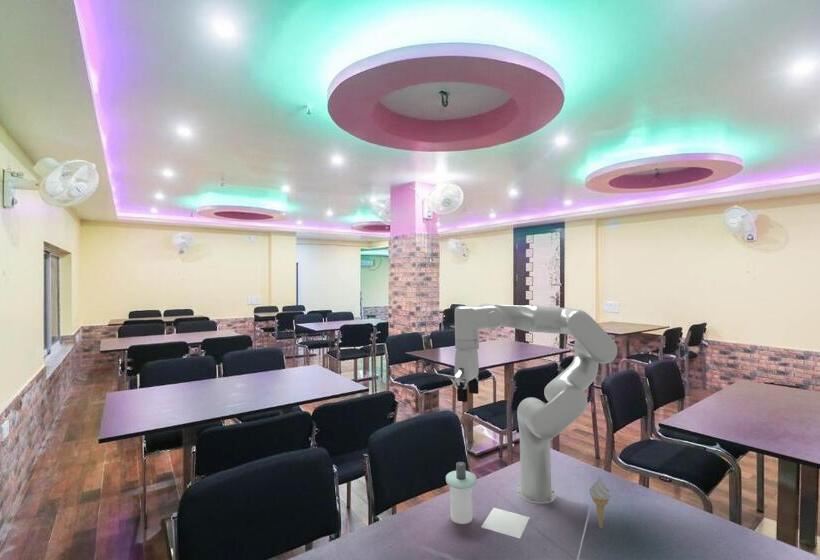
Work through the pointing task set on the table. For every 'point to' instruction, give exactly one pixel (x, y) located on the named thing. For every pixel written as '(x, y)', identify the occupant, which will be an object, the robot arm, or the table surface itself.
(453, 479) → the lid
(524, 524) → the mat
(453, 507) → the can
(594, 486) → the ice cream cone
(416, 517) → the table surface
